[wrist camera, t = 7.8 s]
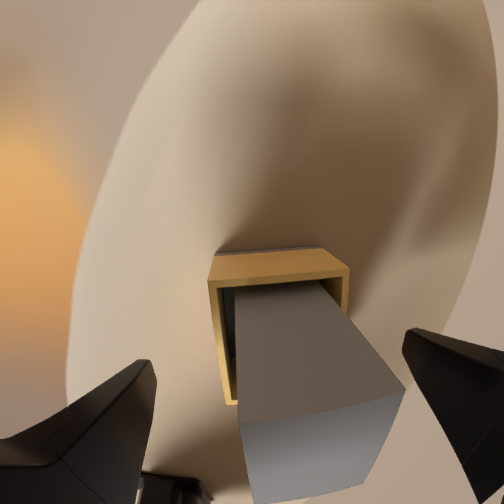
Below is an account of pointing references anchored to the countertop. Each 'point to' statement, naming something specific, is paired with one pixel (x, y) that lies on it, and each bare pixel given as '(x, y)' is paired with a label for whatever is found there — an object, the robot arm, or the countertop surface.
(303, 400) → the plug
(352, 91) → the countertop surface
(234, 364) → the socket block
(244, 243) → the countertop surface
